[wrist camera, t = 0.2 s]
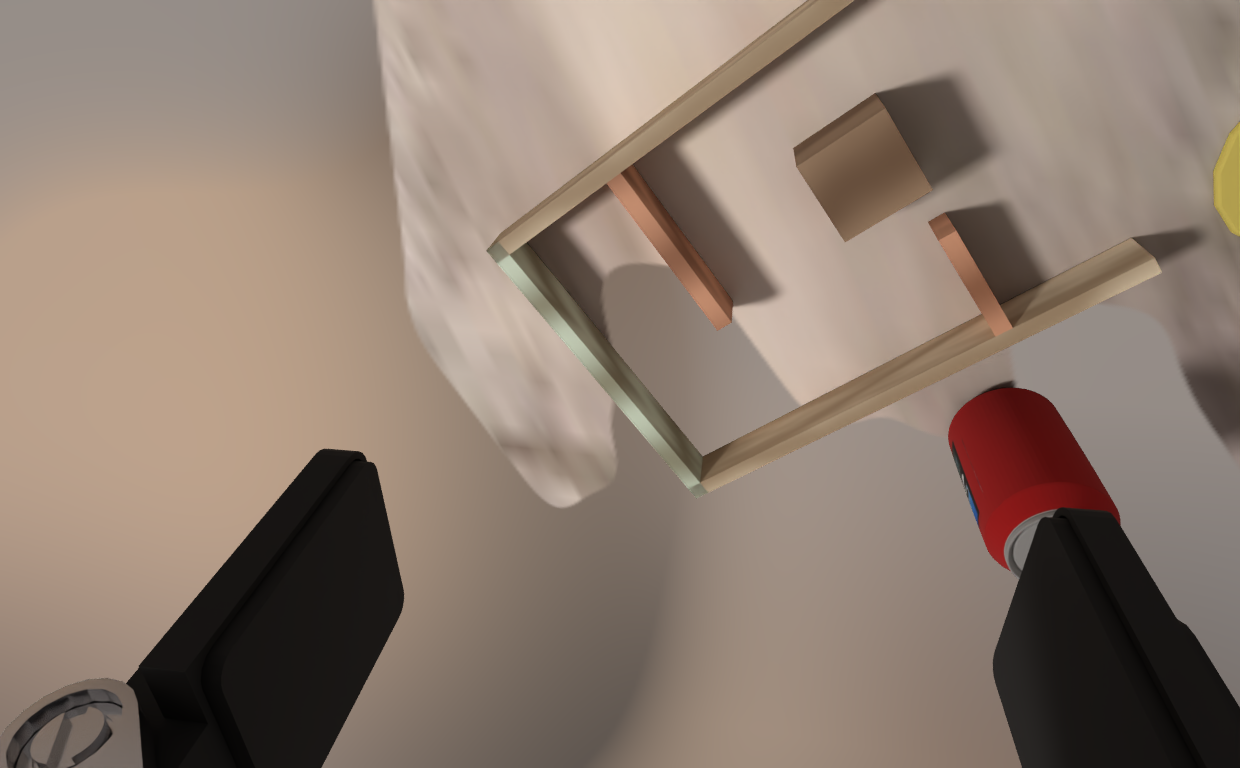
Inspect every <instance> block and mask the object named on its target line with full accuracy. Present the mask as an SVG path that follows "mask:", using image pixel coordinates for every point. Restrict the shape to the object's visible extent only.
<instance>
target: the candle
mask: <svg viewBox="0 0 1240 768" xmlns="http://www.w3.org/2000/svg"><path fill="white" fill-rule="evenodd" d="M1213 177H1214V206H1215V208H1216V209H1217V211H1218V212H1219V214H1220V216H1221V217H1222V219H1223V220H1224V222H1225V224H1226V225H1227V227H1228V228H1229V230H1230V232H1232V233H1234V234H1236V235H1237V236H1239V237H1240V122H1239V123H1238V124H1237V125H1236V126H1235V128H1234V129H1233V130H1232V131H1231V132H1230V133H1229V136H1228V138H1227V140H1226V143H1225V145H1224V147H1223V150H1222V152H1221V154H1220V157H1219V159H1218V161H1217V164H1216V166H1215V168H1214V171H1213Z"/></svg>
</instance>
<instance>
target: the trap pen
mask: <svg viewBox="0 0 1240 768" xmlns="http://www.w3.org/2000/svg"><path fill="white" fill-rule="evenodd" d="M853 1H854V0H807V1H806V2H805V3H804V4H802V5H801V6H800V7H798V8H797V9H796V10H794V11H793V12H792V13H790V14H789V15H788V16H786V17H785V18H784V19H782V20H781V21H780V22H778V23H777V24H776V25H775V26H773V27H772V28H771V29H769V30H768V31H767V32H765V33H764V34H763V35H761V36H760V37H759V38H757V39H756V40H755V41H753V42H752V43H751V44H749V45H748V46H747V47H746V48H744V49H743V50H742V51H740V52H739V53H738V54H736V55H735V56H734V57H732V58H731V59H730V60H728V61H727V62H726V63H724V64H723V65H722V66H720V67H719V68H718V69H717V70H715V71H714V72H713V73H711V74H710V75H709V76H707V77H706V78H705V79H703V80H702V81H701V82H699V83H698V84H697V85H695V86H694V87H693V88H691V89H690V90H689V91H688V92H686V93H685V94H684V95H682V96H681V97H680V98H678V99H677V100H676V101H674V102H673V103H672V104H670V105H669V106H668V107H666V108H665V109H664V110H662V111H661V112H660V113H659V114H657V115H656V116H655V117H653V118H652V119H651V120H649V121H648V122H647V123H645V124H644V125H643V126H641V127H640V128H639V129H637V130H636V131H635V132H633V133H632V134H631V135H630V136H628V137H627V138H626V139H624V140H623V141H622V142H620V143H619V144H618V145H616V146H615V147H614V148H612V149H611V150H610V151H608V152H607V153H606V154H604V155H603V156H602V157H600V158H599V159H598V160H597V161H595V162H594V163H593V164H591V165H590V166H589V167H587V168H586V169H585V170H583V171H582V172H581V173H579V174H578V175H577V176H575V177H574V178H573V179H571V180H570V181H569V182H568V183H566V184H565V185H564V186H562V187H561V188H560V189H558V190H557V191H556V192H554V193H553V194H552V195H550V196H549V197H548V198H546V199H545V200H544V201H542V202H541V203H540V204H539V205H537V206H536V207H535V208H533V209H532V210H531V211H529V212H528V213H527V214H525V215H524V216H523V217H521V218H520V219H519V220H517V221H516V222H515V223H513V224H512V225H511V226H510V227H508V228H507V229H506V230H504V231H503V232H502V233H500V235H499V236H498V237H497V238H496V240H495V241H494V242H493V243H492V244H491V246H490V247H489V248H488V249H487V252H488V253H489V254H490V256H491V257H492V258H493V259H494V260H495V261H496V263H497V264H498V265H499V266H500V267H501V269H502V270H503V271H504V272H505V273H506V274H507V276H508V277H509V278H510V279H511V280H512V281H513V283H514V284H515V285H516V286H517V287H518V289H519V290H520V291H521V292H522V293H523V294H524V296H525V297H526V298H527V299H528V300H529V302H530V303H531V304H532V305H533V306H534V307H535V309H536V310H537V311H538V312H539V313H540V315H541V316H542V317H543V318H544V319H545V320H546V322H547V323H548V324H549V325H550V326H551V327H552V329H553V330H554V331H555V332H556V333H557V335H558V336H559V337H560V338H561V339H562V340H563V342H564V343H565V344H566V345H567V346H568V348H569V349H570V350H571V351H572V352H573V353H574V355H575V356H576V357H577V358H578V359H579V361H580V362H581V363H582V364H583V365H584V366H585V368H586V369H587V370H588V371H589V372H590V373H591V375H592V376H593V377H594V378H595V379H596V381H597V382H598V383H599V384H600V385H601V386H602V388H603V389H604V390H605V391H606V392H607V394H608V395H609V396H610V397H611V398H612V399H613V401H614V402H615V403H616V404H617V405H618V406H619V408H620V409H621V410H622V411H623V412H624V414H625V415H626V416H627V417H628V418H629V419H630V421H631V422H632V423H633V424H634V425H635V426H636V428H637V429H638V430H639V431H640V432H641V434H642V435H643V436H644V437H645V438H646V440H647V441H648V442H649V443H650V444H651V445H652V447H653V448H654V449H655V450H656V451H657V452H658V454H659V455H660V456H661V457H662V458H663V460H664V461H665V462H666V463H667V464H668V465H669V467H670V468H671V469H672V470H673V471H674V473H675V474H676V475H677V476H678V477H679V478H680V480H681V481H682V482H683V483H684V484H685V486H686V487H687V488H688V489H689V490H690V491H691V493H692V494H693V495H694V496H695V497H696V498H698V497H700V496H702V495H704V494H706V493H709V492H711V491H712V490H715V489H717V488H719V487H721V486H723V485H725V484H727V483H729V482H731V481H733V480H735V479H737V478H739V477H741V476H744V475H746V474H748V473H750V472H752V471H754V470H756V469H758V468H760V467H762V466H764V465H766V464H768V463H770V462H773V461H774V460H777V459H778V458H781V457H783V456H785V455H787V454H789V453H791V452H793V451H795V450H797V449H799V448H801V447H803V446H805V445H808V444H810V443H811V442H814V441H816V440H818V439H820V438H822V437H824V436H826V435H828V434H830V433H832V432H834V431H836V430H838V429H841V428H842V427H844V426H847V425H849V424H851V423H853V422H855V421H857V420H859V419H861V418H863V417H865V416H867V415H869V414H871V413H874V412H876V411H878V410H880V409H882V408H884V407H886V406H888V405H890V404H892V403H894V402H896V401H898V400H900V399H902V398H904V397H906V396H909V395H911V394H913V393H915V392H917V391H919V390H921V389H923V388H925V387H927V386H929V385H931V384H933V383H935V382H937V381H939V380H942V379H944V378H946V377H948V376H950V375H952V374H954V373H956V372H958V371H960V370H962V369H964V368H966V367H968V366H970V365H972V364H975V363H977V362H979V361H981V360H983V359H985V358H987V357H989V356H991V355H993V354H995V353H997V352H999V351H1001V350H1003V349H1005V348H1007V347H1010V346H1012V345H1014V344H1016V343H1018V342H1020V341H1022V340H1024V339H1026V338H1028V337H1030V336H1032V335H1034V334H1036V333H1038V332H1040V331H1042V330H1045V329H1047V328H1049V327H1051V326H1053V325H1055V324H1057V323H1059V322H1061V321H1063V320H1065V319H1067V318H1069V317H1071V316H1073V315H1075V314H1077V313H1080V312H1082V311H1084V310H1086V309H1088V308H1090V307H1092V306H1094V305H1096V304H1098V303H1100V302H1102V301H1104V300H1106V299H1108V298H1111V297H1113V296H1115V295H1117V294H1119V293H1121V292H1123V291H1125V290H1127V289H1129V288H1131V287H1133V286H1135V285H1137V284H1139V283H1141V282H1144V281H1146V280H1148V279H1150V278H1152V277H1154V276H1156V275H1158V274H1160V273H1162V272H1161V270H1160V267H1159V265H1158V263H1157V261H1156V259H1155V258H1154V257H1153V256H1152V255H1151V254H1150V253H1149V252H1147V251H1146V250H1145V249H1144V248H1143V247H1142V246H1140V245H1139V244H1138V243H1137V242H1136V241H1134V240H1133V239H1132V238H1130V239H1128V240H1126V241H1124V242H1122V243H1120V244H1118V245H1116V246H1114V247H1112V248H1111V249H1109V250H1107V251H1105V252H1103V253H1101V254H1099V255H1097V256H1095V257H1093V258H1091V259H1089V260H1087V261H1085V262H1083V263H1081V264H1079V265H1077V266H1075V267H1073V268H1071V269H1069V270H1067V271H1065V272H1064V273H1062V274H1060V275H1058V276H1056V277H1054V278H1052V279H1050V280H1048V281H1046V282H1044V283H1042V284H1040V285H1038V286H1036V287H1034V288H1032V289H1030V290H1028V291H1026V292H1024V293H1022V294H1020V295H1018V296H1017V297H1015V298H1013V299H1011V300H1009V301H1007V302H1005V303H1003V304H1001V305H999V303H998V301H997V300H996V298H995V296H994V295H993V293H992V291H991V289H990V288H989V286H988V284H987V282H986V281H985V279H984V277H983V276H982V274H981V272H980V270H979V269H978V267H977V265H976V264H975V262H974V260H973V258H972V257H971V255H970V253H969V252H968V250H967V248H966V246H965V245H964V243H963V241H962V240H961V238H960V236H959V234H958V233H957V231H956V229H955V228H954V226H953V225H952V223H951V222H950V220H949V218H948V217H947V215H946V214H945V213H943V214H941V215H939V216H938V217H936V218H934V219H932V220H931V221H929V222H928V223H929V225H930V226H931V228H932V230H933V232H934V234H935V235H936V237H937V239H938V241H939V242H940V244H941V246H942V247H943V249H944V251H945V252H946V254H947V256H948V257H949V259H950V261H951V262H952V264H953V266H954V268H955V269H956V271H957V273H958V274H959V276H960V278H961V279H962V281H963V283H964V284H965V286H966V288H967V289H968V291H969V293H970V294H971V296H972V298H973V299H974V301H975V303H976V304H977V306H978V308H979V310H980V311H981V313H982V314H981V315H979V316H977V317H975V318H973V319H971V320H970V321H968V322H966V323H964V324H962V325H960V326H958V327H956V328H954V329H952V330H950V331H948V332H946V333H944V334H942V335H940V336H938V337H936V338H934V339H932V340H930V341H928V342H926V343H924V344H923V345H921V346H919V347H917V348H915V349H913V350H911V351H909V352H907V353H905V354H903V355H901V356H899V357H897V358H895V359H893V360H891V361H889V362H887V363H885V364H883V365H881V366H879V367H877V368H876V369H874V370H872V371H870V372H868V373H866V374H864V375H862V376H860V377H858V378H856V379H854V380H852V381H850V382H848V383H846V384H844V385H842V386H840V387H838V388H836V389H834V390H832V391H830V392H829V393H827V394H825V395H823V396H821V397H819V398H817V399H815V400H813V401H811V402H809V403H807V404H805V405H803V406H801V407H799V408H797V409H795V410H793V411H791V412H789V413H787V414H785V415H783V416H782V417H780V418H778V419H776V420H774V421H772V422H770V423H768V424H766V425H764V426H762V427H760V428H758V429H756V430H754V431H752V432H750V433H748V434H746V435H744V436H743V437H740V438H738V439H736V440H735V441H733V442H731V443H729V444H727V445H725V446H723V447H721V448H719V449H717V450H715V451H713V452H711V453H709V454H707V455H705V456H703V457H702V455H701V454H700V453H699V452H698V451H697V449H696V448H695V447H694V446H693V444H692V443H691V442H690V441H689V440H688V438H687V437H686V436H685V435H684V434H683V432H682V431H681V430H680V429H679V427H678V426H677V425H676V424H675V422H674V421H673V420H672V419H671V418H670V416H669V415H668V414H667V413H666V412H665V411H664V409H663V408H662V407H661V405H659V403H658V402H657V401H656V399H655V398H654V397H653V396H652V394H651V393H650V392H649V391H648V390H647V388H646V387H645V386H644V385H643V384H642V382H641V381H640V380H639V379H638V378H637V376H636V375H635V374H634V373H633V371H632V370H631V369H630V368H629V366H628V365H627V364H626V363H625V362H624V361H623V359H622V358H621V357H620V356H619V354H618V353H617V352H616V351H615V349H614V348H613V347H612V346H611V345H610V343H609V342H608V341H607V340H606V339H605V337H604V336H603V335H602V334H601V332H600V331H599V330H598V329H597V328H596V326H595V325H594V324H593V323H592V321H591V320H590V319H589V318H588V317H587V315H586V314H585V313H584V312H583V311H582V309H581V308H580V307H579V306H578V304H577V303H576V302H575V301H574V300H573V298H572V297H571V296H570V295H569V293H568V292H567V291H566V290H565V289H564V287H563V286H562V285H561V284H560V283H559V281H558V280H557V279H556V278H555V276H554V275H553V274H552V273H551V272H550V270H549V269H548V268H547V267H546V266H545V264H544V263H543V262H542V261H541V259H540V258H539V257H538V256H537V255H536V253H535V252H534V251H533V250H532V248H531V247H530V246H529V245H528V244H527V241H529V240H530V239H532V238H533V237H534V236H536V235H537V234H538V233H540V232H541V231H542V230H544V229H545V228H546V227H548V226H549V225H551V224H552V223H553V222H555V221H556V220H557V219H559V218H560V217H561V216H563V215H564V214H565V213H567V212H568V211H569V210H571V209H572V208H574V207H575V206H576V205H578V204H579V203H580V202H582V201H583V200H584V199H586V198H587V197H588V196H590V195H591V194H593V193H594V192H595V191H597V190H598V189H599V188H601V187H602V186H603V185H605V184H606V183H607V185H608V186H609V187H610V189H611V190H612V191H613V193H614V194H615V195H616V197H617V198H618V199H619V200H620V202H621V203H622V204H623V206H624V207H625V208H626V210H627V211H628V212H629V214H630V215H631V216H632V218H633V219H634V220H635V222H636V223H637V224H638V226H639V227H640V228H641V230H642V231H643V232H644V234H645V235H646V236H647V238H648V239H649V240H650V242H651V243H652V244H653V246H654V247H655V248H656V250H657V251H658V252H659V254H660V255H661V256H662V258H663V259H664V260H665V262H666V263H667V264H668V266H669V267H670V268H671V269H672V271H673V272H674V273H675V275H676V276H677V277H678V279H679V280H680V281H681V283H682V284H683V285H684V287H685V288H686V289H687V291H688V292H689V293H690V295H691V296H692V297H693V299H694V300H695V301H696V303H697V304H698V305H699V307H700V308H701V309H702V310H703V312H704V313H705V315H706V316H707V317H708V319H709V320H710V321H711V322H712V324H713V325H714V327H715V328H716V329H717V330H720V329H721V328H723V327H725V326H726V325H728V324H730V323H732V307H733V301H732V300H731V298H730V297H729V295H728V294H727V293H726V291H725V290H724V289H723V287H722V286H721V285H720V283H719V282H718V280H717V279H716V278H715V276H714V275H713V274H712V272H711V271H710V270H709V268H708V267H707V265H706V264H705V263H704V261H703V260H702V259H701V257H700V256H699V254H698V253H697V252H696V250H695V249H694V248H693V246H692V245H691V244H690V242H689V241H688V239H687V238H686V237H685V235H684V234H683V233H682V231H681V230H680V229H679V227H678V226H677V224H676V223H675V222H674V220H673V219H672V218H671V216H670V215H669V214H668V212H667V211H666V209H665V208H664V207H663V205H662V204H661V203H660V201H659V200H658V199H657V197H656V196H655V194H654V193H653V192H652V190H651V189H650V188H649V186H648V185H647V184H646V182H645V181H644V179H643V178H642V177H641V175H640V174H639V173H638V171H637V170H636V168H635V167H634V166H633V163H635V162H636V161H637V160H639V159H640V158H641V157H643V156H644V155H645V154H647V153H648V152H650V151H651V150H652V149H654V148H655V147H656V146H658V145H659V144H660V143H662V142H663V141H664V140H666V139H667V138H669V137H670V136H671V135H673V134H674V133H675V132H677V131H678V130H679V129H681V128H682V127H683V126H685V125H686V124H688V123H689V122H690V121H692V120H693V119H694V118H696V117H697V116H698V115H700V114H701V113H702V112H704V111H705V110H706V109H708V108H709V107H711V106H712V105H713V104H715V103H716V102H717V101H719V100H720V99H721V98H723V97H724V96H725V95H727V94H728V93H730V92H731V91H732V90H734V89H735V88H736V87H738V86H739V85H740V84H742V83H743V82H744V81H746V80H747V79H749V78H750V77H751V76H753V75H754V74H755V73H757V72H758V71H759V70H761V69H762V68H763V67H765V66H766V65H768V64H769V63H770V62H772V61H773V60H774V59H776V58H777V57H778V56H780V55H781V54H782V53H784V52H785V51H787V50H788V49H789V48H791V47H792V46H793V45H795V44H796V43H797V42H799V41H800V40H801V39H803V38H804V37H806V36H807V35H808V34H810V33H811V32H812V31H814V30H815V29H816V28H818V27H819V26H820V25H822V24H823V23H824V22H826V21H827V20H829V19H830V18H831V17H833V16H834V15H835V14H837V13H838V12H839V11H841V10H842V9H843V8H845V7H846V6H848V5H849V4H850V3H852V2H853Z"/></svg>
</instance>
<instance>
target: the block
mask: <svg viewBox="0 0 1240 768" xmlns="http://www.w3.org/2000/svg"><path fill="white" fill-rule="evenodd" d="M793 149H794V155H795V161H796V167H797V168H798V170H799V171H800V173H801V175H802V176H803V178H804V179H805V181H806V182H807V184H808V185H809V187H810V189H811V190H812V192H813V193H814V195H815V196H816V198H817V199H818V201H819V203H820V204H821V206H822V207H823V209H824V210H825V212H826V213H827V215H828V217H829V218H830V220H831V221H832V223H833V224H834V226H835V227H836V229H837V230H838V232H839V234H840V235H841V237H842V238H843V240H844V241H845V242H846V241H848V240H850V239H851V238H853V237H855V236H856V235H858V234H860V233H861V232H863V231H865V230H866V229H868V228H870V227H872V226H873V225H875V224H877V223H878V222H880V221H882V220H883V219H885V218H887V217H888V216H890V215H892V214H893V213H895V212H897V211H898V210H900V209H902V208H904V207H905V206H907V205H909V204H910V203H912V202H914V201H915V200H917V199H919V198H920V197H922V196H924V195H925V194H927V193H929V192H930V191H932V190H933V189H932V188H931V186H930V184H929V182H928V181H927V179H926V177H925V175H924V174H923V172H922V170H921V169H920V167H919V165H918V163H917V162H916V160H915V158H914V157H913V155H912V153H911V151H910V150H909V148H908V146H907V144H906V143H905V141H904V139H903V138H902V136H901V134H900V132H899V131H898V129H897V127H896V125H895V124H894V122H893V120H892V119H891V117H890V115H889V113H888V112H887V110H886V108H885V107H884V105H883V104H882V102H881V101H880V99H879V98H878V96H877V95H876V94H873V95H872V96H870V97H869V98H867V99H866V100H864V101H863V102H861V103H860V104H858V105H857V106H855V107H854V108H852V109H851V110H849V111H848V112H846V113H845V114H843V115H842V116H840V117H839V118H837V119H836V120H834V121H833V122H831V123H830V124H828V125H827V126H825V127H824V128H823V129H821V130H820V131H818V132H817V133H815V134H814V135H812V136H811V137H809V138H808V139H806V140H805V141H803V142H802V143H800V144H799V145H797V146H796V147H794V148H793Z"/></svg>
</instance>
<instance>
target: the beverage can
mask: <svg viewBox="0 0 1240 768" xmlns="http://www.w3.org/2000/svg"><path fill="white" fill-rule="evenodd" d="M948 440H949V445H950V449H951V451H952V454H953V457H954V460H955V463H956V466H957V469H958V472H959V475H960V478H961V480H962V483H963V486H964V489H965V492H966V494H967V497H968V500H969V502H970V505H971V508H972V511H973V513H974V516H975V519H976V521H977V524H978V526H979V529H980V532H981V534H982V537H983V540H984V542H985V545H986V547H987V550H988V552H989V553H990V555H991V556H992V557H993V558H994V559H995V560H996V561H997V562H998V563H999V564H1000V565H1001V566H1003V567H1004V568H1006V569H1008V570H1009V571H1011V572H1012V573H1013V575H1015V577H1017V578H1018V579H1019V578H1020V575H1021V573H1022V570H1023V567H1024V564H1025V561H1026V558H1027V555H1028V552H1029V549H1030V546H1031V543H1032V540H1033V537H1034V534H1035V531H1036V528H1037V525H1038V523H1039V521H1040V520H1041V519H1042V518H1043V517H1053V515H1054V513H1055V511H1056V510H1057V509H1058V508H1062V507H1066V508H1078V509H1091V510H1104V511H1108V512H1110V513H1112V515H1113V516H1114V517H1115V518H1116V520H1117V521H1118V523H1119V525H1120V515H1119V512H1118V510H1117V508H1116V506H1115V504H1114V502H1113V501H1112V499H1111V497H1110V496H1109V494H1108V492H1107V491H1106V489H1105V487H1104V486H1103V484H1102V482H1101V481H1100V479H1099V477H1098V475H1097V474H1096V472H1095V470H1094V469H1093V467H1092V466H1091V464H1090V462H1089V461H1088V459H1087V457H1086V456H1085V454H1084V452H1083V451H1082V449H1081V448H1080V446H1079V445H1078V443H1077V441H1076V440H1075V438H1074V436H1073V435H1072V433H1071V431H1070V430H1069V428H1068V427H1067V425H1066V424H1065V422H1064V421H1063V419H1062V417H1061V416H1060V414H1059V413H1058V411H1057V410H1056V408H1055V407H1054V405H1053V404H1052V403H1051V402H1050V401H1049V400H1048V399H1047V398H1045V397H1043V396H1042V395H1040V394H1038V393H1036V392H1033V391H1030V390H1027V389H1021V388H1002V389H996V390H992V391H989V392H986V393H983V394H981V395H979V396H977V397H975V398H973V399H972V400H970V401H969V402H967V403H966V404H965V405H964V406H963V407H962V408H961V409H960V410H959V411H958V412H957V414H956V415H955V416H954V418H953V420H952V422H951V425H950V428H949V434H948Z"/></svg>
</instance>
